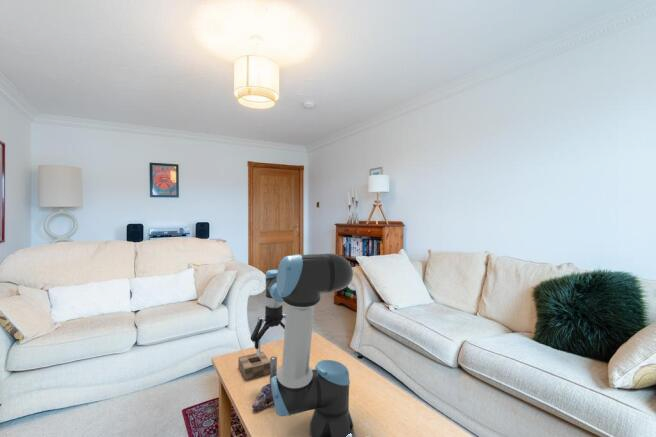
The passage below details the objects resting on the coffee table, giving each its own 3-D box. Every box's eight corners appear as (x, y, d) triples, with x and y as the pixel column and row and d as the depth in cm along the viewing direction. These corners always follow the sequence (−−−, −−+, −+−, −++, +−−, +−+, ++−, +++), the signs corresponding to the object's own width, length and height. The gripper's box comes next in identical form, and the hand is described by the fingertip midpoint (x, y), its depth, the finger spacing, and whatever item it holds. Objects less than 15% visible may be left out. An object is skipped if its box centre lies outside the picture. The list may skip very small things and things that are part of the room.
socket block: (270, 372, 142) (271, 362, 142) (245, 380, 136) (245, 369, 136) (262, 361, 152) (262, 351, 152) (238, 367, 146) (238, 357, 146)
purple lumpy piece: (257, 415, 113) (258, 399, 113) (245, 406, 118) (245, 391, 118) (282, 400, 123) (282, 385, 122) (269, 392, 127) (269, 378, 127)
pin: (277, 380, 136) (277, 358, 135) (271, 382, 134) (271, 360, 134) (275, 377, 138) (275, 355, 138) (269, 379, 137) (269, 357, 136)
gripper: (296, 298, 144) (295, 342, 145) (243, 306, 132) (243, 354, 133) (303, 303, 138) (302, 349, 139) (248, 312, 125) (247, 362, 126)
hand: (273, 351), depth 136 cm, fingers open, 13 cm apart
